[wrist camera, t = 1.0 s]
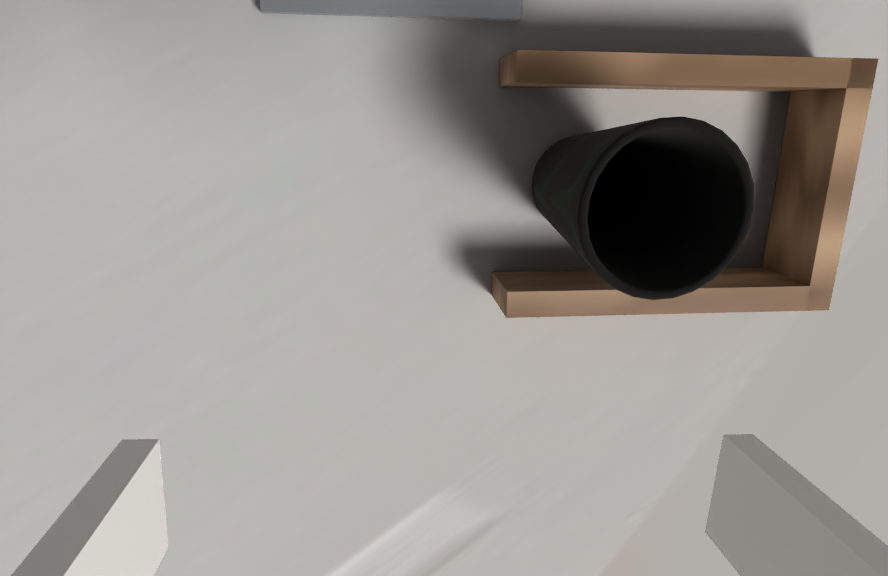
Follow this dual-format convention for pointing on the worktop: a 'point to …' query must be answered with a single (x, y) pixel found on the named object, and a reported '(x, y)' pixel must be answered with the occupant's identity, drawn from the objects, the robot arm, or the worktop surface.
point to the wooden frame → (796, 192)
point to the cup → (649, 203)
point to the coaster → (401, 8)
